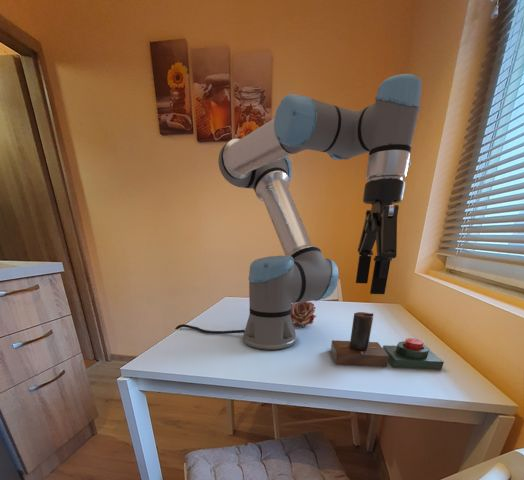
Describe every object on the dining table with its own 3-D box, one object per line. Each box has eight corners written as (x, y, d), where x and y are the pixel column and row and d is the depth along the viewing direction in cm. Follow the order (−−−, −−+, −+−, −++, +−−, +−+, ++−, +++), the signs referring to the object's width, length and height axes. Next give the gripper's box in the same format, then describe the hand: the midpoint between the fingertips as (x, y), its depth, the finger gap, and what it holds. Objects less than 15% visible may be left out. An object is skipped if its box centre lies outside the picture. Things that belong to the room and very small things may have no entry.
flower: (288, 314, 101) (286, 300, 95) (313, 310, 100) (313, 295, 94) (292, 336, 96) (290, 322, 90) (318, 331, 95) (318, 317, 89)
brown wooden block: (335, 365, 67) (337, 353, 66) (330, 350, 75) (331, 339, 74) (386, 367, 66) (389, 355, 65) (375, 352, 74) (378, 341, 73)
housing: (393, 367, 66) (396, 352, 64) (381, 352, 74) (384, 338, 73) (441, 370, 65) (446, 354, 64) (424, 354, 73) (428, 340, 72)
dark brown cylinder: (351, 350, 68) (356, 315, 64) (347, 343, 72) (352, 310, 68) (369, 351, 67) (376, 316, 64) (365, 344, 71) (370, 311, 68)
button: (407, 350, 67) (409, 343, 66) (401, 344, 70) (402, 337, 70) (424, 351, 66) (426, 344, 66) (417, 345, 70) (419, 338, 69)
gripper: (434, 166, 44) (406, 300, 52) (384, 189, 67) (370, 279, 75) (385, 167, 44) (365, 299, 53) (352, 189, 67) (342, 279, 75)
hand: (368, 288), depth 64 cm, fingers open, 13 cm apart
